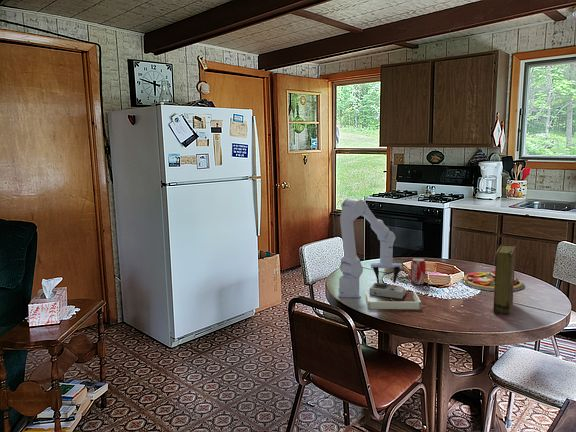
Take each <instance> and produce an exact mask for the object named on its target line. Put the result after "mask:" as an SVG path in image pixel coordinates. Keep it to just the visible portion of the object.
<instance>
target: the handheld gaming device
mask: <svg viewBox="0 0 576 432" xmlns="http://www.w3.org/2000/svg"><path fill="white" fill-rule="evenodd" d="M405 295H406V287H404V286H402V285H396V284H389V283H383V282H382V283H381V282H379V283H377V282H374V283H373V284H372V285H371V286H370V287H369V296H379V297H384V298H385V297H386V298H393V299H401V300H402V299H403V297H404V296H405Z"/></svg>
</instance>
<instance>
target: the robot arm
mask: <svg viewBox="0 0 576 432" xmlns="http://www.w3.org/2000/svg"><path fill="white" fill-rule="evenodd" d="M340 205H341V212H340V216H339V222H340V230H341V231H340V233H341V239H342V249H343V256H342V257H341V259H340V265H339V268H340V271H341V273H342V275H339V277H338V279H339V280H338V282H339V283H338V294H339V298H358V299H361V298H362V295H361V291H360V278H361V276H362V274H363V272H364V268H363V265H362V263H361V260H360V258H359V257H358V255H357V248H356V240H355V239H356V238H355V230H354V229H355V228H354V221H355V220H356V219H357V218H359V217H360V216H362V217H363V218H364V219H365V220H366V221H368V222H369V224H370V229H371V230H372V231H373V232H374V233H375V235H376V236H377V240H378V241H379V243H380V244H379V247H380V248H379V254H380V255H379V260H380V261H379V262H375V263H370V269H372V270H373V272H374V274H375V278H376V283H380V279H379V277H380V275H379V274H380V271H379V269H393V276H392V277H393V278H392V282H393V284H396V282H397V278H398V276H399V273H400V272H401V269H403V264H402V263H400V262H398V263H397V262H393V251H394V250H393V247H394V242H395V240H396V238H397V237H396V235H395V233H394V231H393V230H390V229H389V227H388V226H386V224H385V223H384V221H383V219H379V218H377V217H376V216H375V215H374V213H373V212H372V210H370V208H369V205H368V204H367V203H366V201H365V200H363V199H355V198H351V197H346V198H345V199H344V200H343V202H342V203H341V204H340Z"/></svg>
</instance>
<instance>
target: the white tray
mask: <svg viewBox="0 0 576 432" xmlns="http://www.w3.org/2000/svg"><path fill="white" fill-rule="evenodd" d="M412 298H413V300H414V301H391V300H389V301H387V300H386V301H385V300H384V301H381V300H379V301H378V300H375V301H373V300H372V301H371V300H370V294H369V291H365V300H366V305H367V309H368V310H371V309H372V310H422V301H421V300H420V297H419V295H418V294H417V292H416V291H413V297H412Z"/></svg>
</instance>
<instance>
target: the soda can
mask: <svg viewBox="0 0 576 432" xmlns="http://www.w3.org/2000/svg"><path fill="white" fill-rule="evenodd" d="M425 273H426V274H427V263H426V261H425V258H421V257H414V258H412V260H411V261H410V282H411V283H412V284H413V283H414V284H413V285H416V284H417V286H419V285H420V284H422V285H424V284H425V283H424V278H425V277H424V274H425ZM420 286H421V285H420Z"/></svg>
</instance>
